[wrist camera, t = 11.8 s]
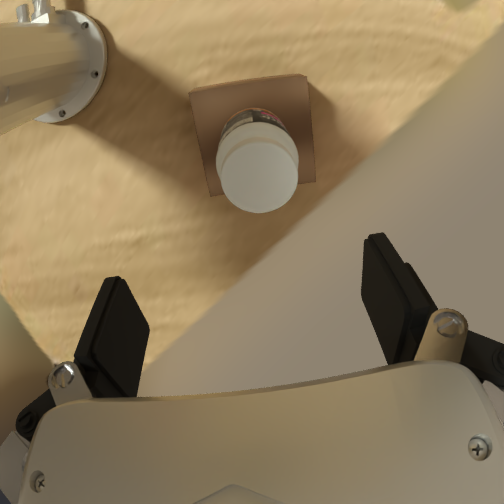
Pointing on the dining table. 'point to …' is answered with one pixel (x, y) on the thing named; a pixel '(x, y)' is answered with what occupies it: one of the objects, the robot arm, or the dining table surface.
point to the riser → (254, 96)
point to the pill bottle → (257, 161)
